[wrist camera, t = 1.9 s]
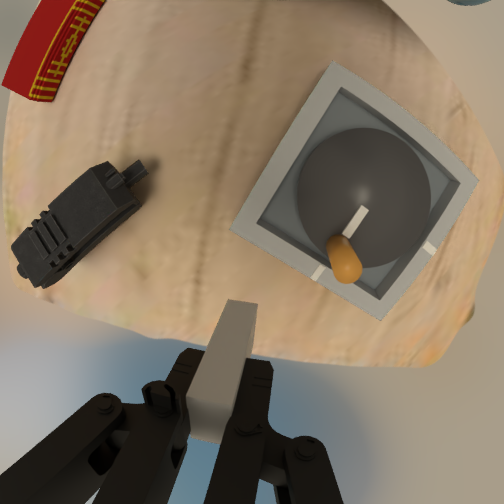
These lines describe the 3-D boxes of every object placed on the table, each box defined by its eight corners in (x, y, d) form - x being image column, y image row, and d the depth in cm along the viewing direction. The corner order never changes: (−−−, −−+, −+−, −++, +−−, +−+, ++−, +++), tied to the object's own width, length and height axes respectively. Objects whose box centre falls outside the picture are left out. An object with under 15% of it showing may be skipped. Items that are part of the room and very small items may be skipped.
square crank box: (327, 72, 26) (332, 59, 21) (459, 175, 27) (479, 180, 22) (237, 219, 33) (228, 230, 28) (372, 302, 34) (381, 322, 30)
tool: (50, 247, 35) (-3, 255, 21) (142, 167, 38) (122, 134, 24) (71, 279, 37) (24, 301, 22) (165, 199, 39) (155, 181, 25)
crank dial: (341, 103, 25) (359, 85, 17) (441, 182, 25) (484, 195, 18) (271, 215, 30) (263, 239, 22) (374, 280, 31) (395, 321, 23)
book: (55, 102, 31) (32, 101, 26) (21, 86, 30) (1, 85, 25) (109, -1, 24) (91, -12, 19) (66, -4, 23) (48, -11, 18)
